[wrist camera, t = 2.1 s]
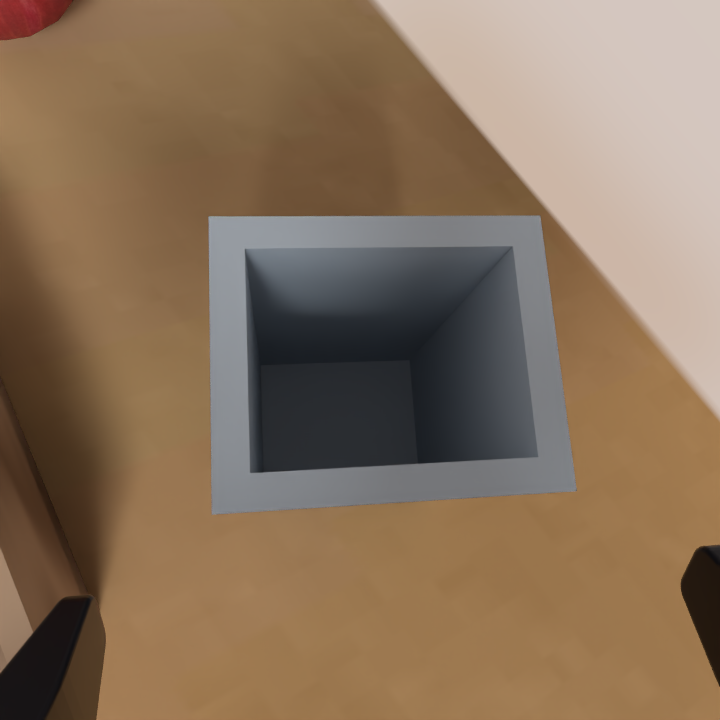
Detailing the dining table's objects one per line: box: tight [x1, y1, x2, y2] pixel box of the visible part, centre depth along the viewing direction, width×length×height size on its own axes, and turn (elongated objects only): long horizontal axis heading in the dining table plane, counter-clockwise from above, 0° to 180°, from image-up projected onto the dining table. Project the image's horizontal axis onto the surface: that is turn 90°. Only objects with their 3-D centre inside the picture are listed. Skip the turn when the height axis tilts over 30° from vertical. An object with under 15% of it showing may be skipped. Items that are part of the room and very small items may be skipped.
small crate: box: [209, 216, 577, 515], centre depth 16 cm, size 5×6×10 cm
